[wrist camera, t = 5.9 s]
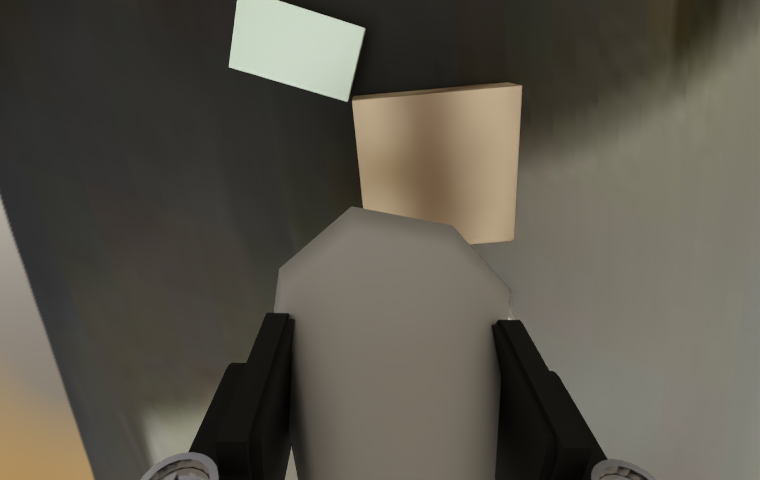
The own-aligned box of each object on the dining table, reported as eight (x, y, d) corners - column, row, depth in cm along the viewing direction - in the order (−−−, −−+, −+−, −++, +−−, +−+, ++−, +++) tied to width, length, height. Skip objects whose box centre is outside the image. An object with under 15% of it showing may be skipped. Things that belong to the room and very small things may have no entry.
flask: (338, 158, 11) (190, 643, 2) (549, 276, 13) (1013, 847, 4) (234, 350, 14) (-50, 965, 4) (421, 429, 15) (500, 999, 6)
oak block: (505, 81, 25) (522, 85, 22) (499, 222, 28) (513, 240, 26) (353, 95, 25) (351, 100, 22) (367, 233, 28) (368, 253, 26)
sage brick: (365, 31, 23) (365, 28, 20) (350, 95, 24) (347, 101, 21) (257, -4, 22) (238, -13, 19) (247, 64, 24) (228, 67, 20)
